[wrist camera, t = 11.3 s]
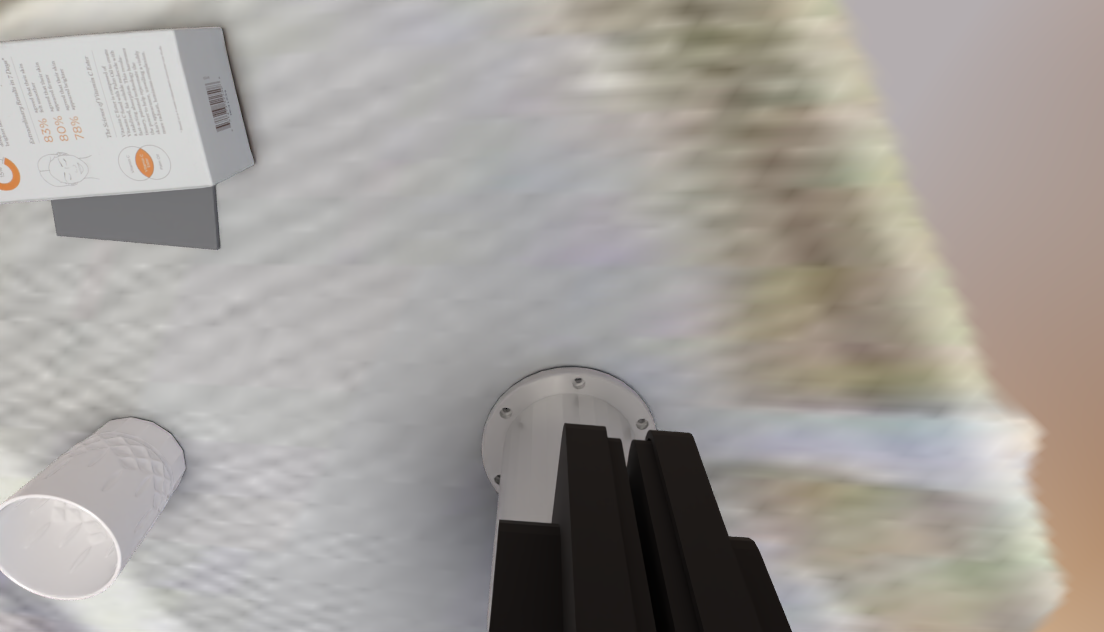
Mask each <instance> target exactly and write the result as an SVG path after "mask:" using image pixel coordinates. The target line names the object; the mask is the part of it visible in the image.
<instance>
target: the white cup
mask: <svg viewBox="0 0 1104 632" xmlns="http://www.w3.org/2000/svg"><path fill="white" fill-rule="evenodd" d="M185 469H186V466H185V460H184V453H183V450H182V448H181V447H180V446H179V444H178V443H177V441H176V440H175V439H174V437H173V436H172V434H170V433H169V432H167V431H166V430H164V429H163V428H161V427H160V426H158V425H157V424H155V423H153V422H150V421H146V420H142V419H137V418H133V417H128V418H122V419H116V420H110V421H109V422H107V423H106V424H105V425H103V426H102V427H101V428H99V429H98V430H96V431H95V432H94V433H93V434H91V435H90V436H89V437H88V438H87V439H85V440H84V441H82V442H79V443H77V444H76V445H75V446H73V447H72V448H71V449H70V450H69V451H67V452H66V453H64V454H62V455H61V456H60V457H59V458H58V459H56V460H55V461H54V462H53V463H51V464H50V465H49V466H48V467H46V468H45V469H44V470H43V471H41V472H40V473H39V474H38V475H36V476H35V477H34V478H33V479H32V480H30V481H29V482H28V483H27V484H25V485H24V486H23V487H22V488H20V489H19V490H18V491H17V492H15V493H14V494H13V495H12V496H10V497H9V498H8V499H7V500H5V501H4V502H3V503H2V504H0V571H1V572H2V573H3V574H4V575H5V576H7V577H8V578H9V579H10V580H12V581H13V582H14V583H16V584H17V585H19V586H20V587H22V588H24V589H26V590H28V591H30V592H32V593H35V594H37V595H40V596H44V597H47V598H52V599H58V600H80V599H86V598H90V597H93V596H95V595H98V594H100V593H102V592H103V591H105V590H106V589H107V588H109V587H110V586H111V585H112V584H113V583H114V581H115V580H116V579H117V577H118V576H119V574H120V573H121V571H122V570H123V568H124V567H125V565H126V564H127V562H128V561H129V560H130V558H131V557H132V555H133V554H134V552H135V551H136V549H137V548H138V547H139V545H140V544H141V542H142V541H143V539H144V538H145V536H146V535H147V534H148V532H149V531H150V529H151V528H152V526H153V525H154V523H155V522H156V520H157V518H158V517H159V515H160V514H161V512H162V511H163V509H164V508H165V506H166V504H167V503H168V501H169V498H170V497H171V495H172V494H173V492H174V491H175V489H176V488H177V487H178V485H179V483H180V481H181V479H182V476H183V474H184V472H185Z"/></svg>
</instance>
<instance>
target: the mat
mask: <svg viewBox="0 0 1104 632" xmlns="http://www.w3.org/2000/svg"><path fill="white" fill-rule="evenodd" d="M51 203H52V209H53V215H54V221H55V227H56V233H57V236H67V237H79V238H90V239H101V240H112V241H123V242H135V243H146V244H157V245H168V246H179V247H191V248H202V249H213V250H218V249H219V248H220V241H219V228H218V216H217V203H216V190H215V185H214V186H212V187H205V188H196V189H184V190H172V191H160V192H147V193H135V194H121V195H109V196H93V197H82V198H69V199H57V200H51Z"/></svg>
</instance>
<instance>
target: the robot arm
mask: <svg viewBox="0 0 1104 632" xmlns="http://www.w3.org/2000/svg"><path fill="white" fill-rule="evenodd" d="M576 378H582V379H581V380H576ZM504 408H509V409H507V410H506V409H504ZM639 419H643V420H639ZM481 453H482V459H483V466H484V469H485V471H486V474H487V476H488V479H489V481H490V482H491V484H492V485H493V487H494V488H495V490H496V492H497V493H498V494H499V497H498V507H497V518H496V528H495V538H494V549H493V559H492V570H491V580H490V590H489V602H488V614H487V631H488V632H792V631H791V628H790V626H789V623H788V621H787V618H786V616H785V613H784V611H783V608H782V606H781V603H780V601H779V598H778V596H777V593H776V591H775V588H774V586H773V584H772V581H771V579H770V576H769V574H768V571H767V569H766V566H765V564H764V561H763V559H762V556H761V554H760V551H759V549H758V547H757V546H756V544H755V542H754V541H753V540H751V539H750V538H745V537H731V536H728V533H727V531H726V528H725V525H724V522H723V519H722V516H721V514H720V511H719V508H718V505H717V502H716V500H715V497H714V494H713V491H712V488H711V486H710V483H709V480H708V477H707V474H706V471H705V469H704V466H703V463H702V460H701V457H700V455H699V452H698V449H697V446H696V443H695V441H694V438H693V436H692V434H691V433H684V432H671V431H659V430H656V426H655V423H654V420H653V417H652V415H651V413H650V411H649V409H648V407H647V405H646V404H645V402H644V401H643V400H642V399H641V398H640V396H639V395H638V394H637V393H636V392H635V391H634V390H633V389H631V388H630V387H629V386H628V385H626V384H625V383H624V382H622V381H620V380H619V379H617V378H615V377H613V376H611V375H609V374H606V373H603V372H600V371H596V370H593V369H587V368H579V367H565V368H555V369H550V370H546V371H541V372H539V373H536V374H534V375H531V376H529V377H526V378H524V379H523V380H521V381H520V382H518V383H517V384H515V385H514V386H512V387H511V388H510V389H509V390H508V391H507V392H505V393H504V394H503V395H502V396H501V397H500V398H499V400H498V401H497V403H496V404H495V405H494V407H493V408H492V410H491V411H490V414H489V416H488V419H487V421H486V423H485V427H484V432H483V437H482V450H481Z"/></svg>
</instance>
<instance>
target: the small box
mask: <svg viewBox="0 0 1104 632" xmlns="http://www.w3.org/2000/svg"><path fill="white" fill-rule="evenodd" d="M252 165H254V160H253V156H252V153H251V150H250V147H249V143H248V139H247V135H246V131H245V126H244V122H243V118H242V114H241V110H240V106H239V102H238V98H237V94H236V90H235V86H234V82H233V77H232V73H231V69H230V65H229V60H228V56H227V51H226V47H225V41H224V36H223V31H222V28H221V27H198V28H175V29H156V30H141V31H126V32H112V33H98V34H84V35H72V36H60V37H49V38H37V39H25V40H13V41H2V42H0V204H7V203H19V202H32V201H45V200H57V199H69V198H82V197H93V196H109V195H121V194H135V193H147V192H160V191H172V190H184V189H196V188H205V187H212V186H214V185H216V184H218V183H220V182H222V181H224V180H226V179H228V178H230V177H231V176H233V175H235V174H237V173H239V172H241V171H243V170H245V169H246V168H248V167H250V166H252Z"/></svg>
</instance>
